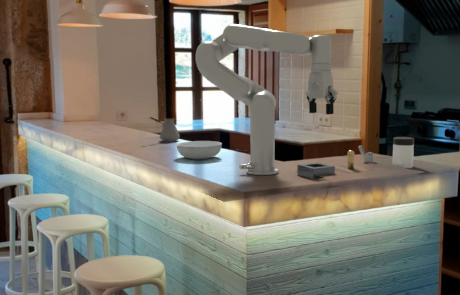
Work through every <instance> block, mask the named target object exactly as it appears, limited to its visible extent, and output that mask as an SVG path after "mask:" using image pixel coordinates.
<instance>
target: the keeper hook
mask: <svg viewBox="0 0 460 295" xmlns="http://www.w3.org/2000/svg"><path fill="white" fill-rule="evenodd" d="M355 154H356V153H355V151H354V150H351V149H349V150H348V151H347V165H348V169H354V165H355Z"/></svg>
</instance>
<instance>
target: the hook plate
mask: <svg viewBox="0 0 460 295" xmlns="http://www.w3.org/2000/svg"><path fill="white" fill-rule="evenodd" d="M335 171H338V172H341V173H346V174H354V173H362V172H371V171H376V169H374V168H369V167H366V166H362V165H361V166H360V165H356V164H354V169H348V164H346V165H337V166H335Z"/></svg>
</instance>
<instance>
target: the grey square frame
mask: <svg viewBox="0 0 460 295" xmlns="http://www.w3.org/2000/svg"><path fill="white" fill-rule="evenodd" d="M335 167H336V166H335V165H331V164H327V163H322V162H311V163H310V162H309V163H302V164H301V163H300V164H297V170H296V171H297V173H296V174H297V176H299V175H300V176H299V177H303V178H306V177H307V179H310V178H311V179H310V180H320V179H324V178H325V177H323V176H326V175H334V174H335V172H336V170H335Z"/></svg>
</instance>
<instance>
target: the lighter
mask: <svg viewBox="0 0 460 295" xmlns="http://www.w3.org/2000/svg"><path fill="white" fill-rule="evenodd" d="M358 150H359V153H360V155H361V156H363V159H364V160H363V161H364V163H375V162H376V155H375V154H373V152H372V151H371V152H370V151H368V152H366V151H365V147H364V145H363V144H362V145H359V146H358Z"/></svg>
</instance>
